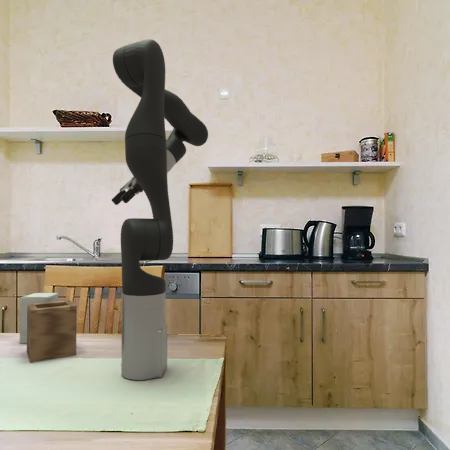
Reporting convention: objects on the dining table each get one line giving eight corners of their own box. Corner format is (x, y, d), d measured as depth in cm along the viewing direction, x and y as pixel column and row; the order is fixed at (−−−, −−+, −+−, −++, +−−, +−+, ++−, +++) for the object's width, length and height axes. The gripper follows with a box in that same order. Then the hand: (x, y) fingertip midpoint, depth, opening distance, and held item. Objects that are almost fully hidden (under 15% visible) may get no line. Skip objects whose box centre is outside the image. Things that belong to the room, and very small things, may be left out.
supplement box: (46, 344, 98) (46, 297, 98) (18, 343, 98) (19, 296, 99) (58, 336, 106) (59, 292, 106) (33, 335, 106) (34, 292, 106)
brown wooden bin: (69, 345, 97) (69, 300, 97) (76, 354, 90) (76, 305, 90) (26, 351, 92) (27, 304, 92) (30, 362, 84) (30, 310, 84)
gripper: (140, 159, 113) (101, 194, 107) (158, 150, 101) (116, 189, 95) (156, 177, 116) (119, 212, 109) (175, 171, 104) (136, 210, 98)
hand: (118, 201), depth 102 cm, fingers open, 8 cm apart
